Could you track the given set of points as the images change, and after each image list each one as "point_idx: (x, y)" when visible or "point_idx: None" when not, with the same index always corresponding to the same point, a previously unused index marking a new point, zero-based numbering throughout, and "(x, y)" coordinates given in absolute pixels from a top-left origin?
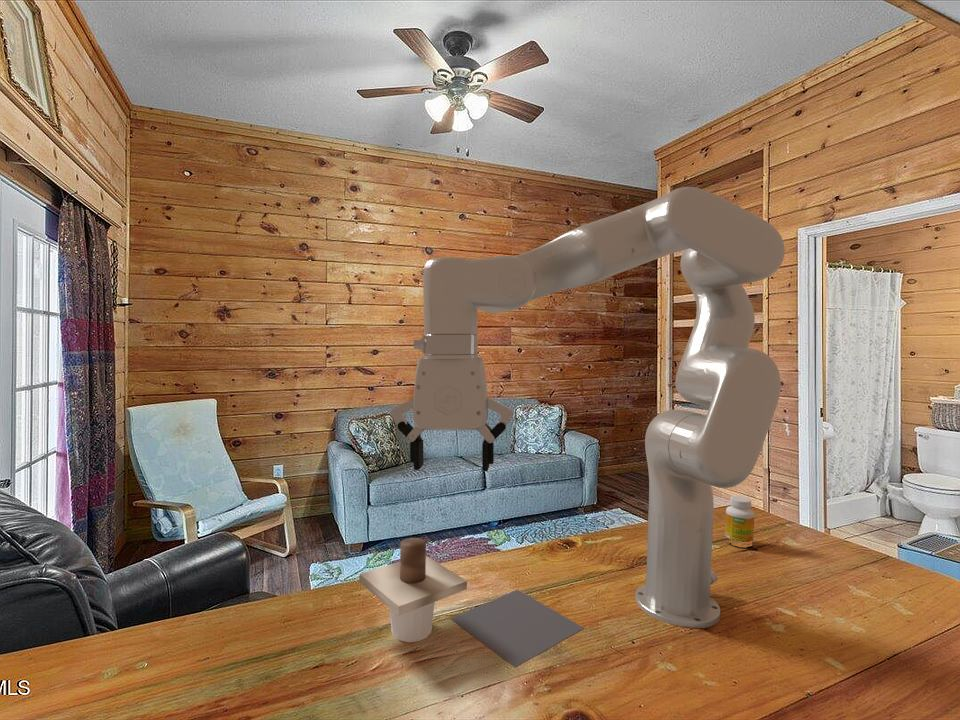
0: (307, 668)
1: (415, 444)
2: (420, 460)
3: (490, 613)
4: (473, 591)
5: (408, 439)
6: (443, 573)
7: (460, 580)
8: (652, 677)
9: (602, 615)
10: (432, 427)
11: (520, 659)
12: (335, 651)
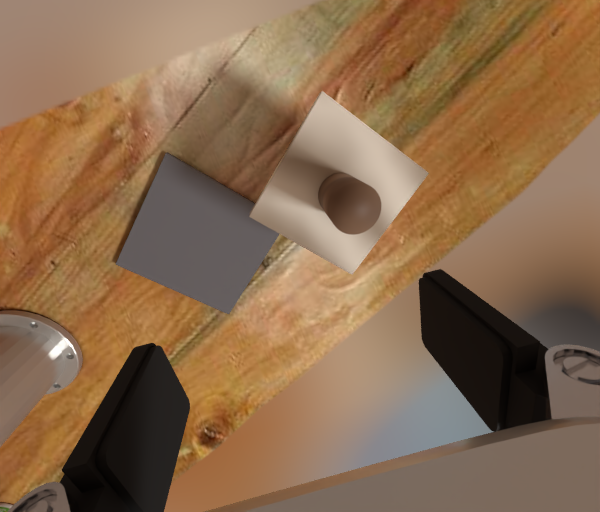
0: (419, 60)
1: (517, 336)
2: (436, 317)
3: (240, 251)
4: (283, 294)
5: (588, 354)
6: (296, 226)
7: (259, 214)
8: (4, 202)
9: (109, 303)
10: (495, 451)
11: (165, 171)
12: (400, 108)
